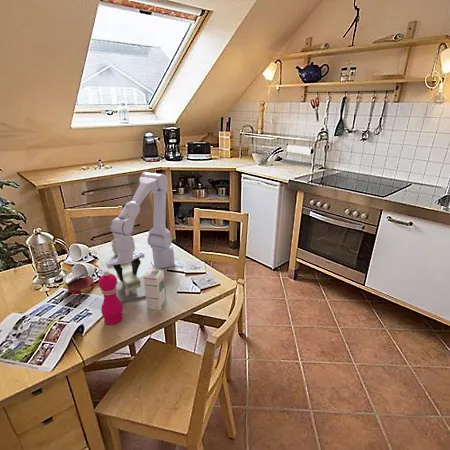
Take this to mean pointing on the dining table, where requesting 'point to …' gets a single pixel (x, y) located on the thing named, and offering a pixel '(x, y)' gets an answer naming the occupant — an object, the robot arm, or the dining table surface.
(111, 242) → the teacup
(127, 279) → the pale green block
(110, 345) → the dining table surface
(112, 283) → the pepper mill
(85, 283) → the canned food
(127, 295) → the peg stand
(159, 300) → the syrup box
